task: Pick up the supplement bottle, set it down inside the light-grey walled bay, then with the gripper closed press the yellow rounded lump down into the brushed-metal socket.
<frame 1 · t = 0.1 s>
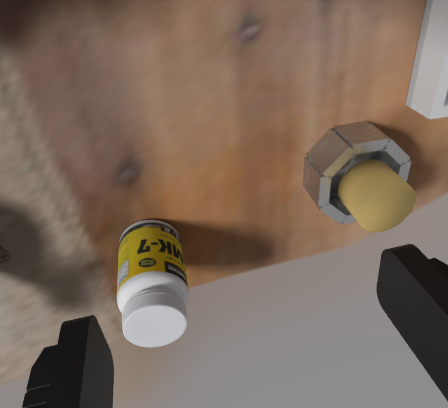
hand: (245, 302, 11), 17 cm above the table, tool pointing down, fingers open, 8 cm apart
yellow rounded lump: (375, 195, 27), point 4 cm above the table, slide at 0.0 cm
socket: (345, 164, 30), on the table
supplement bottle: (149, 239, 31), on the table
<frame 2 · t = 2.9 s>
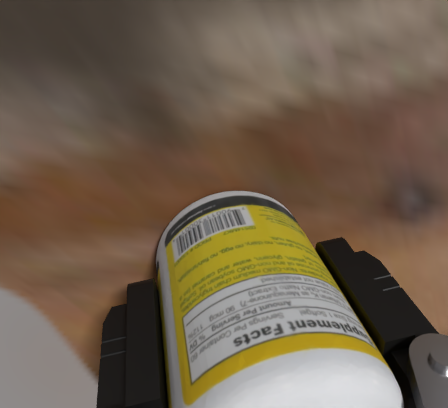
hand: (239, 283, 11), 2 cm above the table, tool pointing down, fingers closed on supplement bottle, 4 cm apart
supplement bottle: (227, 244, 13), on the table, touching gripper
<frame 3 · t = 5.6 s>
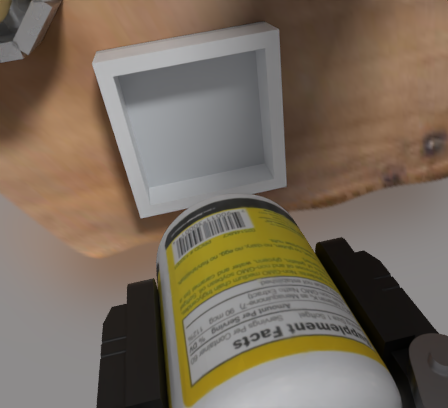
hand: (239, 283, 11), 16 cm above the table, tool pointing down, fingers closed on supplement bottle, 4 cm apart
bay: (196, 116, 25), on the table
supplement bottle: (227, 246, 13), point 14 cm above the table, touching gripper
when the fingers open (3 cm above the table, at t = 8.5 s): supplement bottle stays where it is, resting on bay.
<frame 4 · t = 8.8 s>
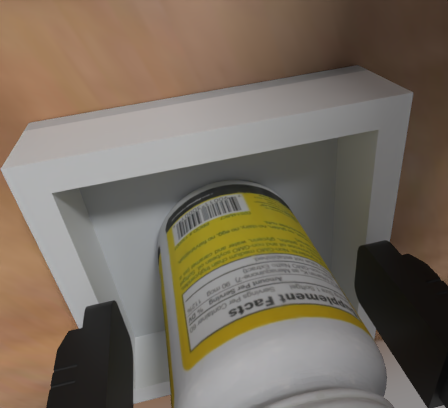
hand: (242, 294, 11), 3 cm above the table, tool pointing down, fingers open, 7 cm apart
bay: (220, 225, 14), on the table
supplement bottle: (225, 232, 14), resting on bay
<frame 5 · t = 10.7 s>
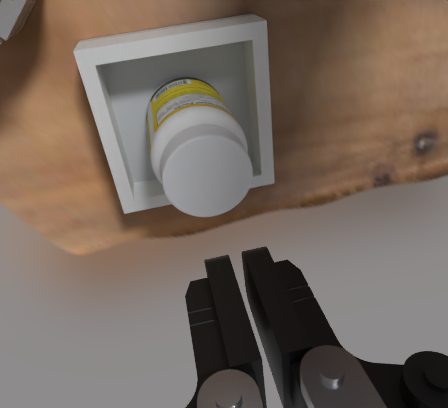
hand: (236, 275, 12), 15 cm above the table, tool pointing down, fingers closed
bay: (183, 110, 24), on the table
supplement bottle: (185, 112, 24), resting on bay
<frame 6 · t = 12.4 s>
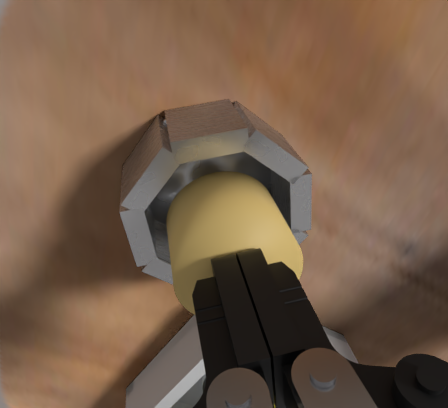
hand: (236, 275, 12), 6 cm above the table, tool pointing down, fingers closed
yellow rounded lump: (229, 245, 13), point 4 cm above the table, slide at 0.1 cm, touching gripper
socket: (209, 181, 17), on the table
bay: (237, 361, 24), on the table
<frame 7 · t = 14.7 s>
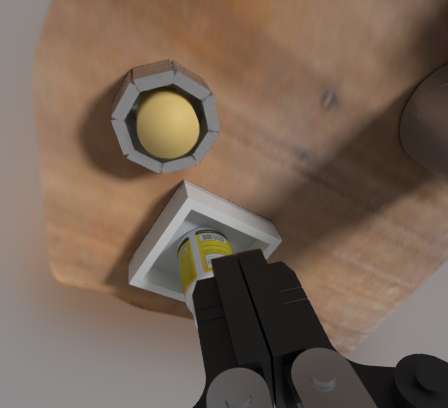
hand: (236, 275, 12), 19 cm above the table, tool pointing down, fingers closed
yellow rounded lump: (166, 122, 26), point 2 cm above the table, slide at 2.2 cm
socket: (164, 110, 28), on the table
bay: (201, 242, 36), on the table
supplement bottle: (202, 245, 35), resting on bay
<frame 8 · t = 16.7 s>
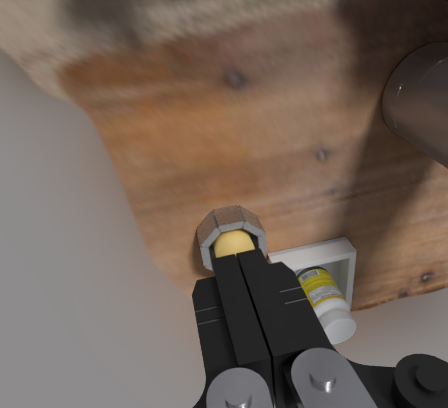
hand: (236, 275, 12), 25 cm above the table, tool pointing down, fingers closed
yellow rounded lump: (233, 246, 41), point 2 cm above the table, slide at 2.2 cm
socket: (228, 232, 43), on the table
bay: (306, 274, 49), on the table
supplement bottle: (308, 276, 48), resting on bay
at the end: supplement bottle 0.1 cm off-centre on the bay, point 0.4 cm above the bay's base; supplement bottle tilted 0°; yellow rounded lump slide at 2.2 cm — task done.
